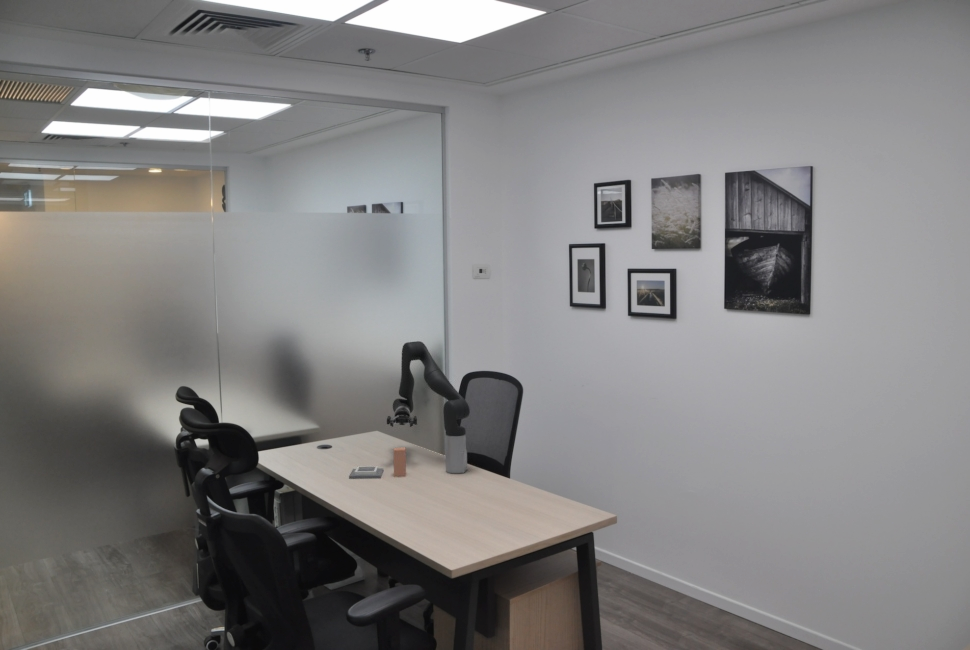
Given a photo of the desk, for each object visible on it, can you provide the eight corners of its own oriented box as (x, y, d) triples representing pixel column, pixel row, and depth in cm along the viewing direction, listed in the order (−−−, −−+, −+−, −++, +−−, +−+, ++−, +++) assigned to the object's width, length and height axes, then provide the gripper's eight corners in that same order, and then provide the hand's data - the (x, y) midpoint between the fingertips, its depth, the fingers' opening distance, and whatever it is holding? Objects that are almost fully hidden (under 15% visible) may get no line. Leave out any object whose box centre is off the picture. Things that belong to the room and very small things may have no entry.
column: (406, 473, 332) (405, 447, 332) (405, 476, 327) (404, 450, 327) (395, 473, 332) (394, 447, 331) (394, 476, 327) (393, 450, 326)
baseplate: (383, 470, 336) (383, 465, 336) (380, 478, 324) (380, 472, 324) (353, 471, 336) (353, 465, 336) (349, 478, 324) (349, 472, 324)
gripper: (387, 407, 353) (386, 416, 337) (417, 407, 354) (417, 417, 338) (387, 422, 354) (386, 432, 338) (416, 422, 356) (416, 432, 340)
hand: (401, 424), depth 338 cm, fingers open, 8 cm apart
